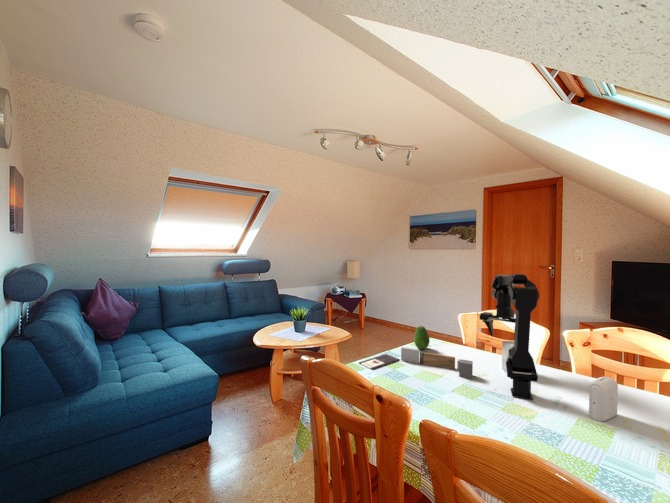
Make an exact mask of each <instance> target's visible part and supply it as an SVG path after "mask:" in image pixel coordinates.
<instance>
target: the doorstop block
mask: <svg viewBox="0 0 670 503" xmlns="http://www.w3.org/2000/svg"><path fill="white" fill-rule="evenodd" d="M459 360H460V362H459V370H458V371H459V372H458V375H459V378H465V379H471V380H472V379H473V371H474V370H473V369H474V368H473V364H474V363H473V360H468V359H459Z"/></svg>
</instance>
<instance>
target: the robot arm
mask: <svg viewBox="0 0 670 503" xmlns="http://www.w3.org/2000/svg"><path fill="white" fill-rule="evenodd" d="M516 285H517V286H516ZM518 285H522V286H518ZM490 286H491V288H492V290H491V292H490V293H491V297H492V298H493V299H494V300H496V305H495V309H496V314H495V315H494V314H493V312H487V311H484V312H481V313H480V314H479V320H480V321H482V322H483V323H484V324H485V326H486V327H487V329H488V332H489V334H490V335H491V337H494V321H501V322H506V323H507V322H508V323H514V333H513V339H514V340H513V341H514V347H513V348H512V349H509V351H508V358H507V361H506V368H507V372H506V377H507V378H510V379H511V380H512V387H510V391H511V396H512V397H514V398H520V399H525V400H531V401H534V397H533V394H532V382H536V383H537V382H538V380H539V376H538V372H537V368H536V366H535V365H536V364H535V362H534V358H533V356H532V355H531V353H530V351H529V350H530V334H531V333H530V331H531V316H532V312H533V311H534V310H535V309H536V308H537V306H538V301H539V299H540V293H539V290H538V288H537V286H536V284H535V283H534V282H532V281H531V280H529V279H528V276H527V275H526V274H523V273H512V274H496V275H495V276H494V278H493V280H492V283H491V285H490ZM513 307H514V309H515V310H514V309H513ZM513 372H523V373H528V374H519V373H513Z"/></svg>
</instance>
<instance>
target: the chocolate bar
mask: <svg viewBox="0 0 670 503" xmlns="http://www.w3.org/2000/svg"><path fill="white" fill-rule="evenodd" d="M399 360H400V361H401V358H397V357H394V356H392V355H389V354H386V353H385V354H382V355H378V356H375V357H373V358H369V359H366V360H363V361H360V362H358V364H359V365H361V366H363V367H365V368H367V369H370V370H372V371H374V370H377V369H380V368H383V367H386V366H388V364H389V365H391V363H392V364H394V363H396V362H397V363H398V362H400V361H399Z"/></svg>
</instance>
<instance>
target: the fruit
mask: <svg viewBox="0 0 670 503" xmlns="http://www.w3.org/2000/svg"><path fill="white" fill-rule="evenodd" d="M414 333H415V334H414V336H413V337H414V338H413V341H414V344H415V347H417V349H419V350H425V349H427V348H428V347H429V345H430V336H429V334H428V332H427V329H426V328H425V326H422V325H420V326H418V327H417V328H415V332H414Z"/></svg>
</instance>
